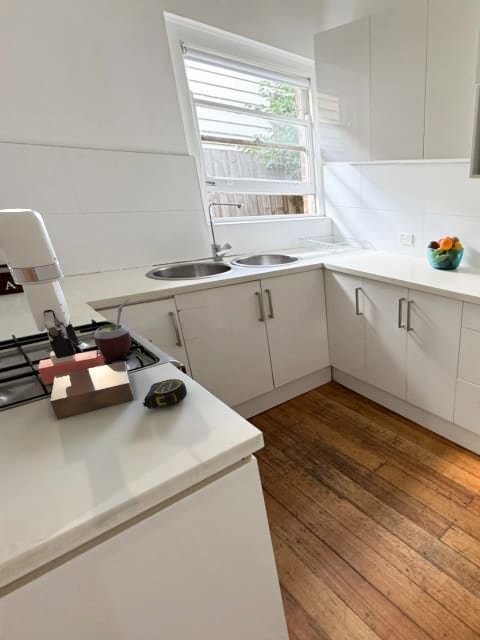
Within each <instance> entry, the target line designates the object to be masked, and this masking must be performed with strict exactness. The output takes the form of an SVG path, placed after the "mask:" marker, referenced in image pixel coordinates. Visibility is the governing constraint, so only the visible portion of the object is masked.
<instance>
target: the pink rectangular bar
mask: <svg viewBox="0 0 480 640" xmlns="http://www.w3.org/2000/svg"><path fill="white" fill-rule="evenodd" d="M104 365H106V362H105V359H104V356H103V355H102V354H101V353H98V350H97V349H96V350H89V351H85V352H79V353H76V354H75V355H73V356H68V357H63V358H56V356H55V353H54V351H53V350H52V351H50V353H49V358H48V359H42V360H39V363H38V367H37V370H38V373H39V375H40V377H41V380H42V383H43V385H44V386H46V385H50V384H52V385H53V382H54V377H55V375H60V374H65V373H70V372H75V371H80V370H85V369H89V368H94V367H99V366H104Z"/></svg>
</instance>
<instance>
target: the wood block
mask: <svg viewBox="0 0 480 640" xmlns="http://www.w3.org/2000/svg"><path fill="white" fill-rule="evenodd" d="M134 400H135V397H134V391H133V387H132V380H131V376H130V372H129V369H128V366H127V362H126V360H122V361H120V362H119V361H118V362H114V363H108V364H105V365H104V366H99V367H94V368H89V369H85V370H80V371H75V372H70V373H65V374H60V375H55V377H54V382H53V383H52V389H51V394H50V400H49V403H50V405H51V408H52V410H53V412H54V414H55V416H56V419H57V420H59V419H63V418H68V417H71V416H75V415H78V414H83V413H87V412H91V411H94V410H99V409H101V408H102V409H103V408H107V407H110V406H115V405H117V404H118V405H119V404H122V403H126V402H130V401H134Z"/></svg>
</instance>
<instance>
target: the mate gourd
mask: <svg viewBox="0 0 480 640" xmlns="http://www.w3.org/2000/svg"><path fill="white" fill-rule="evenodd" d="M130 300H131V297H129V298H128V299H126V300H125V301H123V302H122V303H121V304H120V305H119V306H118V309H117V317H116V324H108V325H104V326H103V325H102V326H100V327H99V328H97V329H96V330H95V332H94V334H93V339H94V344H95V345H96V347H97V348H98V350H99V352H100V354H102V357H103V359H104V363H105V364H110V363H111V362H114V361H116V360H122V361H129V359H130V358H129V357H128V356H129V355H131V354H133V352H132V350H131V349H130V348H131V345H132V336H131V333H130V331H129V329H128V328H126V327H125V326H124V325H122V324H120V321H121V316H122V312H123V308H124V306H125V305H126V304H127V303H128V302H129V301H130Z"/></svg>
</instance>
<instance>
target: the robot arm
mask: <svg viewBox="0 0 480 640" xmlns="http://www.w3.org/2000/svg"><path fill="white" fill-rule="evenodd" d="M0 252H1V253H2V256H3V259H4V260H5V263H6V265H7V267H8V270H9V272H10V275H11V277H12V279H13V283H14V284H16V285H21V286H22V290H23V293H24V295H25V296H24V297H25V299H26V302H27V305H28V307H29V311H30V313H31V316H32V319H33V320H34V324H35V327H36V329H37V331H39V332H44V331H45V330H46V333H47V336H48V339H49V343H50V347H51V348H52V351H54V353H55V356H56V358H63V357H68V356H73V355H75V354H77V352H76V349H75V347H74V344H73V342H76V341H78V336H77V334H76V331H75V329H74V326H73V324H72V323H71V321H70V320H71V314H70V310H69V306H68V304H67V300H66V298H65V295H64V292H63V289H62V287H61V285H60V282H59V281H61V280H62V279H64V278H65V275H64V273H63V270H62V268H61V266H60V265H61V264H60V262H59V260H58V257H57V254H56V252H55V249H54V246H53V244H52V240H51V238H50V235H49V233H48V230H47V227H46V225H45V223H44V219H43V218H42V215H41V214H40V213H39V212H38V211H36V210H34V209H27V208H26V209H25V208H16V209H15V208H14V209H13V208H12V209H0Z"/></svg>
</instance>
